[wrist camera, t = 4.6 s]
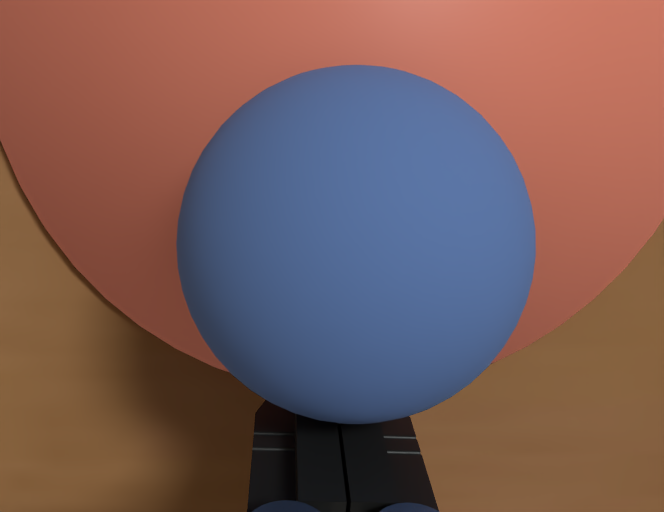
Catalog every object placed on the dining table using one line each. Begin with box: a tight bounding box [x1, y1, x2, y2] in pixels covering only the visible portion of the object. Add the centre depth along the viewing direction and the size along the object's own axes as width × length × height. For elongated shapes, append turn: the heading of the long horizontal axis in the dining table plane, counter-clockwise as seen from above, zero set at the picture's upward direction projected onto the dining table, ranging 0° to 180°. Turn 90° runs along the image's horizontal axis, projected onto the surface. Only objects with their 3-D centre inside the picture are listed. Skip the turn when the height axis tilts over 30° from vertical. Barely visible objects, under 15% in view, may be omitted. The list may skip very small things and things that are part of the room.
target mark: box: [0, 0, 664, 372], centre depth 12 cm, size 14×14×1 cm
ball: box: [176, 65, 536, 424], centre depth 10 cm, size 6×6×6 cm
